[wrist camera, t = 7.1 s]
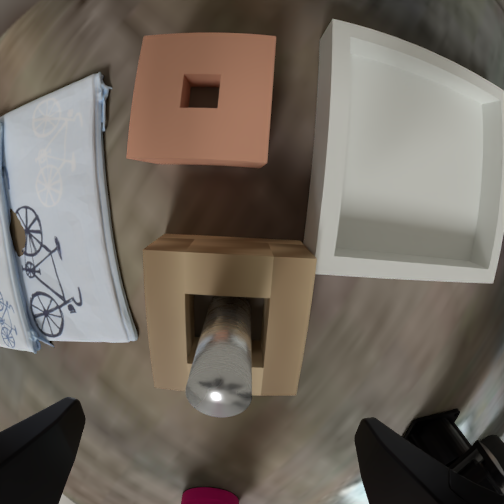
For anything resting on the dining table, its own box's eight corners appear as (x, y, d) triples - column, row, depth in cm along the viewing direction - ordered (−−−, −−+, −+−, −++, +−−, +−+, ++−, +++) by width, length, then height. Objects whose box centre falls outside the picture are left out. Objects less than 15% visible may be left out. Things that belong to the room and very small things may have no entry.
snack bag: (-50, 149, 15) (-65, 150, 13) (117, 73, 15) (104, 63, 13) (-18, 338, 19) (-29, 347, 17) (151, 349, 20) (143, 366, 18)
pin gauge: (248, 329, 17) (248, 419, 10) (208, 325, 17) (186, 413, 10) (252, 292, 17) (255, 373, 10) (210, 287, 17) (184, 366, 9)
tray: (482, 98, 15) (507, 92, 13) (469, 271, 19) (493, 283, 16) (319, 40, 15) (332, 18, 12) (301, 258, 18) (312, 273, 15)
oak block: (299, 239, 18) (316, 258, 14) (285, 354, 20) (296, 395, 15) (166, 232, 18) (142, 249, 13) (170, 348, 19) (154, 387, 15)
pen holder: (453, 457, 25) (482, 504, 15) (502, 421, 25) (536, 460, 15) (447, 482, 27) (470, 522, 18) (492, 451, 27) (518, 486, 17)
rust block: (267, 72, 15) (276, 36, 10) (259, 168, 17) (267, 162, 12) (167, 70, 15) (144, 36, 10) (157, 164, 16) (126, 158, 12)
